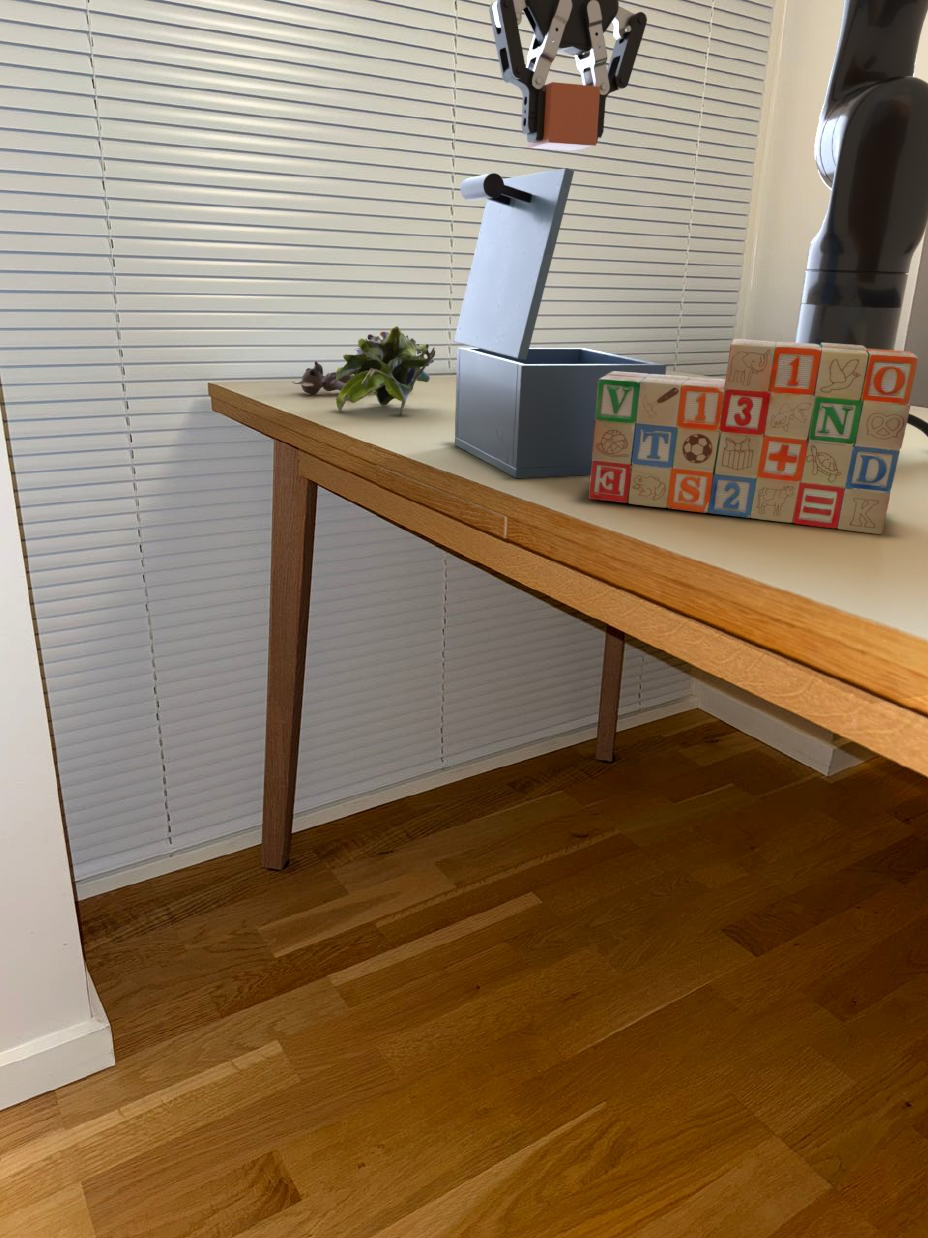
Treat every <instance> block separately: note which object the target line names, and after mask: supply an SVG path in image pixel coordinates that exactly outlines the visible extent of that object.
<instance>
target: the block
mask: <svg viewBox="0 0 928 1238" xmlns="http://www.w3.org/2000/svg"><path fill="white" fill-rule="evenodd" d="M543 91H546V100H545V121H544V137H543V140H542V141H540V142H536V143H533V142H528V141H527V142H528V143H527V144H528V145H527V146H528V147H527V148H529V149H539V150H540V149H541V150H555V151H556V150H557V151H570V152H574V151H579V150H583V149H588V148H592V147H596V146H597V144H596V141H597V125H598V110H599V95H600V87H599V86H589V85H583V84H578V83H567V82H566V83H565V82H555V81H551V82H549V83H545V85H544V87H543ZM597 142H598V141H597Z"/></svg>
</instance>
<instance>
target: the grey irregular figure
mask: <svg viewBox="0 0 928 1238" xmlns="http://www.w3.org/2000/svg"><path fill="white" fill-rule="evenodd" d="M337 374H338V371H337V370H336V371H332V372H330V373H327V374H326V375H324V369H323V366H322V364H320V363H318V362H317V361H314V366H313V368H310V367H308V368H306V369H305V372H304V373H303V375H302V377H301V381H300V380H296V381H291V383H292V384H295V385H300V386H301V389H302V391H303V392H304V393H305V394H307V395H310V396H311V395H312V396H315V395H316V394H318V393H319V391H320V390H321V389H323V390H324V391H327V392H332V391H339V392H340V391H341V389H342V387H343V386H345V384H346V382H348V381H349V380H350V379H351V378H352V376H354V375H348V376H346V375H345V376H343V377H342V378H341V379H339V380H338V381H336V376H337Z"/></svg>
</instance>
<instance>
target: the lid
mask: <svg viewBox="0 0 928 1238" xmlns="http://www.w3.org/2000/svg"><path fill="white" fill-rule="evenodd" d="M574 174H575V170H574V169H570V168H567V167H564V168H558V169H554V170H547V171H542V172H536V173H535V172H534V173H529V174H523V175H518V176H513V177H507V178H503V177H502V176H501V175H500V174H498V173H495V172H493V173H486V174H481V175H477V176H476V175H475V176H471V177H467V178H464V179H463V181H462V182H461V184H460V194H461V196H462V198H463V199H465V200H466V201H468V202H472V201H474V202H475V201H480V200H481V201H482V200H486V202H485V207H484V210H483V215H482V219H481V222H480V223H481V224H480V226H479V227H480V228H479V230H478V231H479V232H478V237H477V240H476V245H475V249H474V254H473V258H472V262H471V265H470V271H469V274H468V279H467V284H466V287H465V292H464V296H463V300H462V305H461V310H460V313H459V318H458V322H457V327H456V331H455V335H454V340H453V342H454V343H456V344H460V345H463V346H468V347H470V348H479V349H483V350H487V351H491V352H494V353H498V354H502V355H506V356H510V357H514V358H517V359H521V360H526V359H527V355H528V351H529V348H531V347H530V346H531V343H532V338H533V334H534V330H535V327H536V323H537V319H538V315H539V312H540V307H541V304H542V299H543V296H544V291H545V288H546V284H547V280H548V276H549V273H550V269H551V265H552V264H551V263H552V261H553V257H554V252H555V248H556V244H557V241H558V236H559V234H560V229H561V225H562V222H563V218H564V213H565V210H566V206H567V201H568V197H569V194H570V190H571V185H572V182H573V178H574Z"/></svg>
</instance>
